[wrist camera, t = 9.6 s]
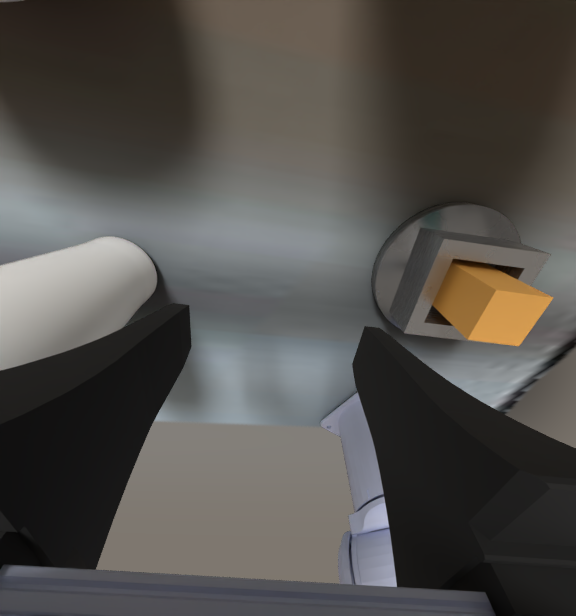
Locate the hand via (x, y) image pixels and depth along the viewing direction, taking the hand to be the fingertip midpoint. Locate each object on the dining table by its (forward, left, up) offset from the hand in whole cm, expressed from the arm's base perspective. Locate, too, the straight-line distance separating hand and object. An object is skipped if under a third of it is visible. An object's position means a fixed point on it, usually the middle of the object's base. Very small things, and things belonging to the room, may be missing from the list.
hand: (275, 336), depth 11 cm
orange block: (-10, -7, -9) cm, 15 cm away
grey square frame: (-10, -7, -10) cm, 15 cm away
